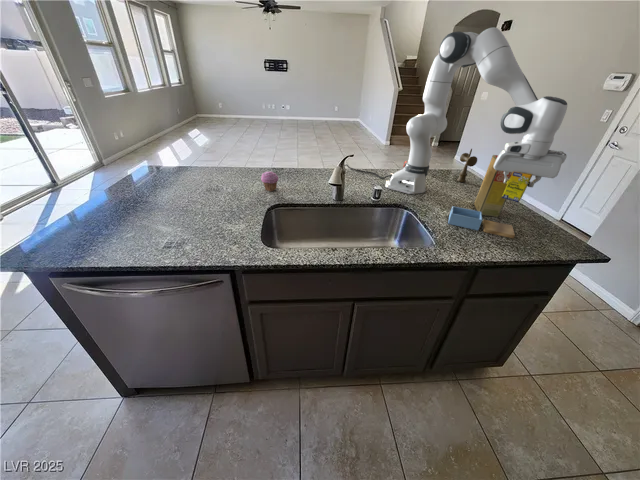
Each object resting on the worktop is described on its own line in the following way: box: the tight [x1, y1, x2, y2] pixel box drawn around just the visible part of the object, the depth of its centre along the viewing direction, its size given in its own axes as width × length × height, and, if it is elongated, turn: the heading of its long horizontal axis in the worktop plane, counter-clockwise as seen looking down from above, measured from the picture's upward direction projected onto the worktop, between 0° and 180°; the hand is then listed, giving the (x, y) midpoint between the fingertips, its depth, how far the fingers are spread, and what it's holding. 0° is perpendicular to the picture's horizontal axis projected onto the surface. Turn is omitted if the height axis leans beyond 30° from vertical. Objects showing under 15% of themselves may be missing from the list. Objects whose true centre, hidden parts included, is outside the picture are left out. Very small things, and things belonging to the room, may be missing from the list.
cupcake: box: [261, 171, 279, 192], centre depth 141 cm, size 9×9×10 cm
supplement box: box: [502, 172, 533, 203], centre depth 103 cm, size 6×6×11 cm
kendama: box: [456, 148, 478, 183], centre depth 160 cm, size 6×10×20 cm, turn 3°
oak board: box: [482, 219, 516, 239], centre depth 114 cm, size 11×10×2 cm
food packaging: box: [473, 154, 512, 218], centre depth 124 cm, size 13×9×25 cm
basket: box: [447, 205, 483, 231], centre depth 118 cm, size 12×9×5 cm
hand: (517, 184), depth 103 cm, fingers closed on supplement box, 7 cm apart
